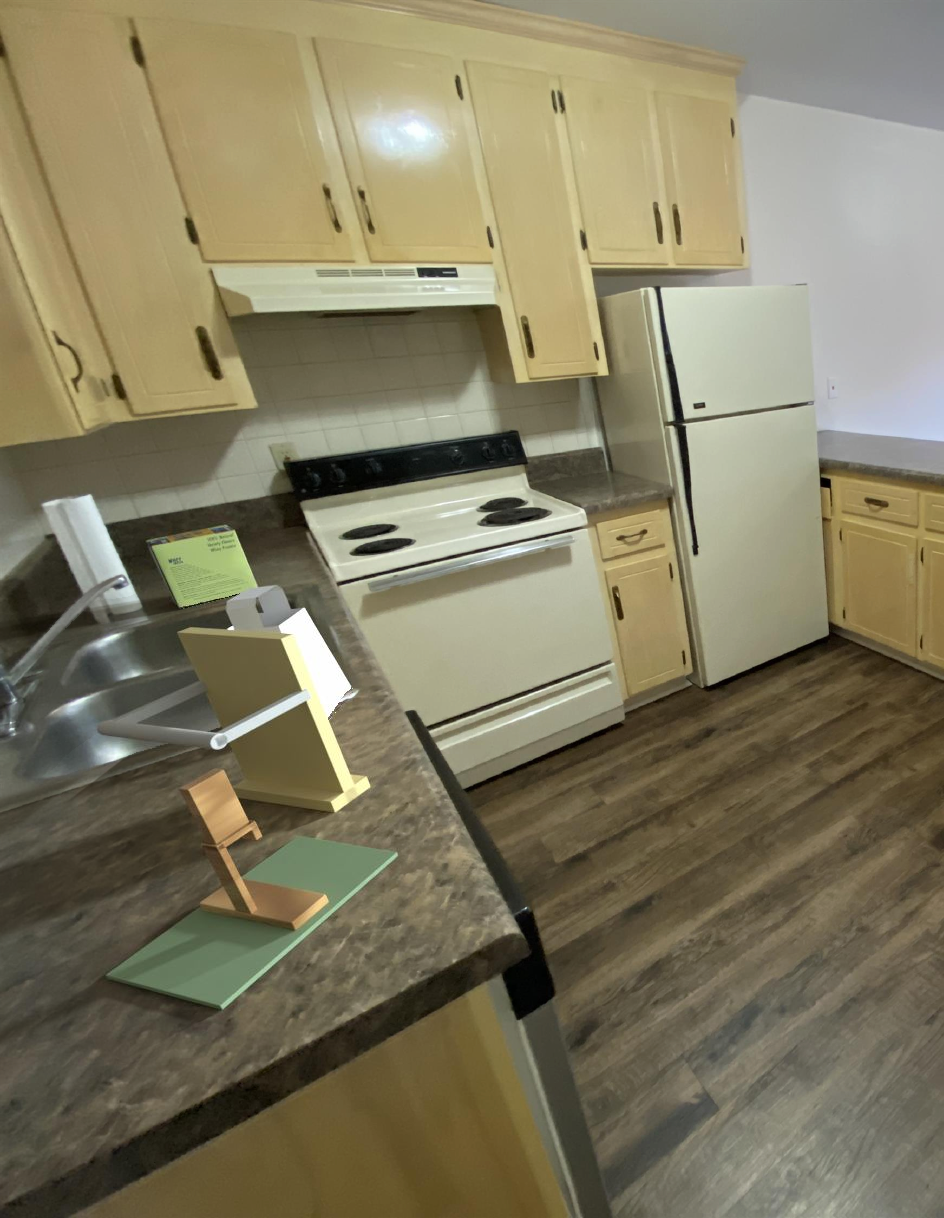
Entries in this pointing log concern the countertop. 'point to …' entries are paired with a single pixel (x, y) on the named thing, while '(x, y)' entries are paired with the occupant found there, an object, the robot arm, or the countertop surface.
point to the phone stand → (237, 896)
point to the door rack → (257, 719)
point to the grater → (300, 624)
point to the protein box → (202, 565)
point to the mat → (249, 926)
